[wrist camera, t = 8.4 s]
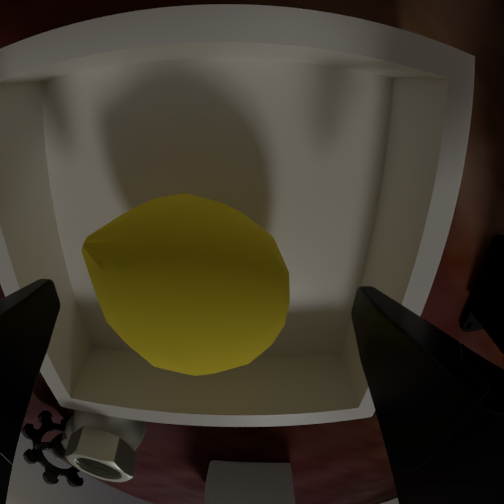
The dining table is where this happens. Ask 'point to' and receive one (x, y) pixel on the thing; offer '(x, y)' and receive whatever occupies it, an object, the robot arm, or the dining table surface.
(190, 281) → the lemon
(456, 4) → the dining table surface
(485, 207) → the dining table surface
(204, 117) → the walled box
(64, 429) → the valve
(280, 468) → the medicine bottle
